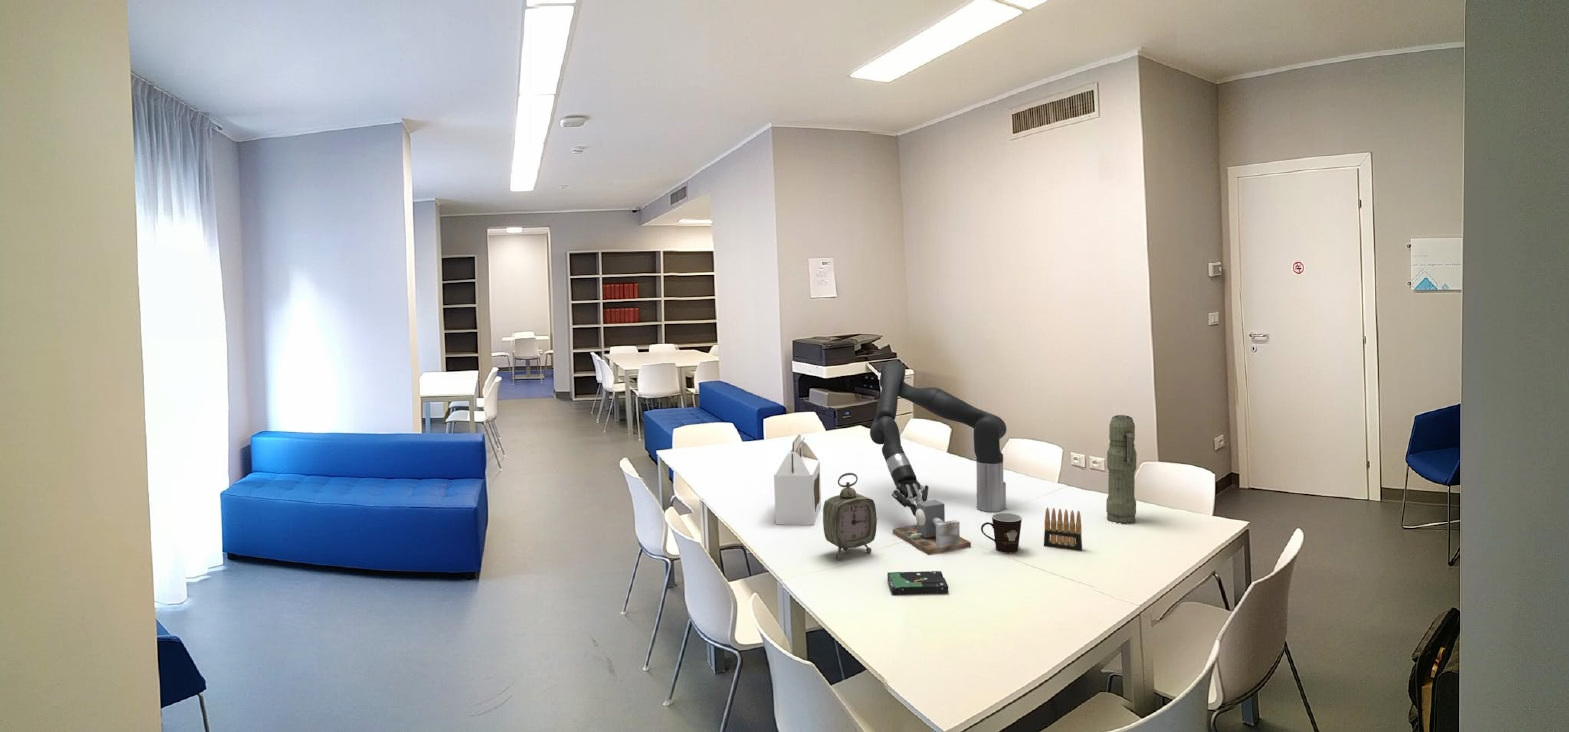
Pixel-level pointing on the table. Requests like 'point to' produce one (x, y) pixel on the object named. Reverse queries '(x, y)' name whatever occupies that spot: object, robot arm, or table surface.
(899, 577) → the disk drive
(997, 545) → the coffee mug
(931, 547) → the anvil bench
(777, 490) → the gable box
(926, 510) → the block
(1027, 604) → the table surface
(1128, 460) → the thermos
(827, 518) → the tabletop clock
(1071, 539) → the ammunition clip
